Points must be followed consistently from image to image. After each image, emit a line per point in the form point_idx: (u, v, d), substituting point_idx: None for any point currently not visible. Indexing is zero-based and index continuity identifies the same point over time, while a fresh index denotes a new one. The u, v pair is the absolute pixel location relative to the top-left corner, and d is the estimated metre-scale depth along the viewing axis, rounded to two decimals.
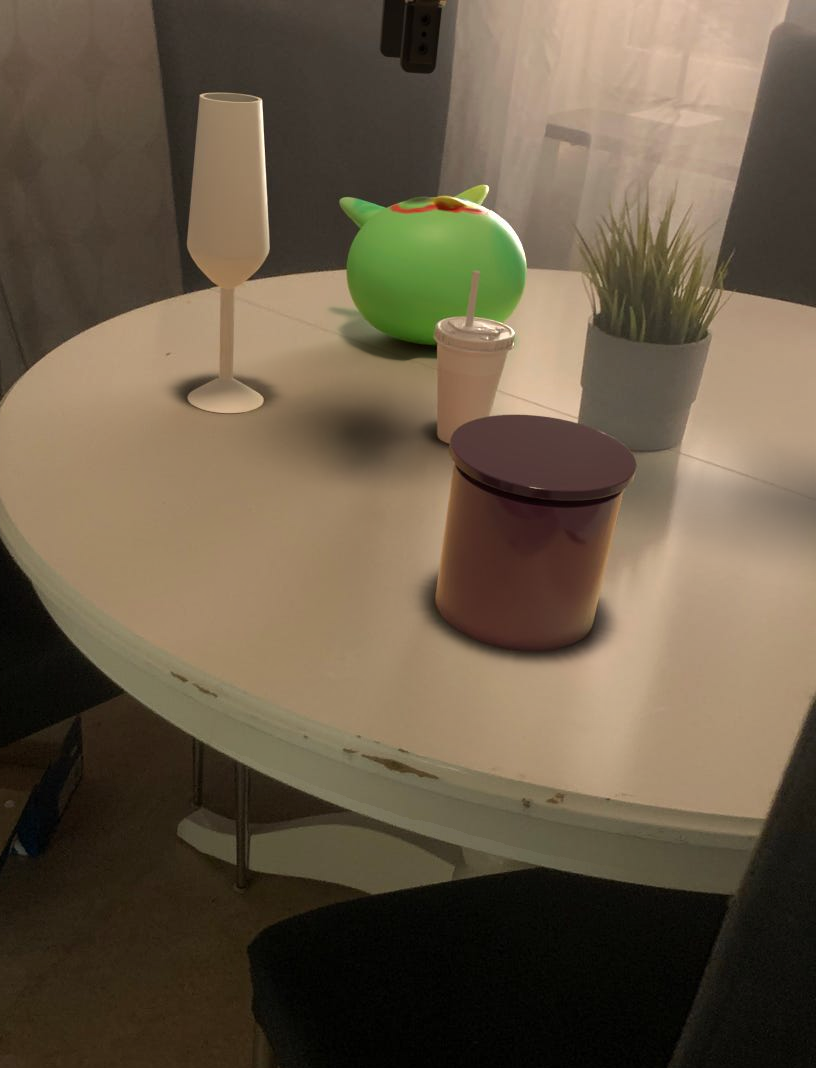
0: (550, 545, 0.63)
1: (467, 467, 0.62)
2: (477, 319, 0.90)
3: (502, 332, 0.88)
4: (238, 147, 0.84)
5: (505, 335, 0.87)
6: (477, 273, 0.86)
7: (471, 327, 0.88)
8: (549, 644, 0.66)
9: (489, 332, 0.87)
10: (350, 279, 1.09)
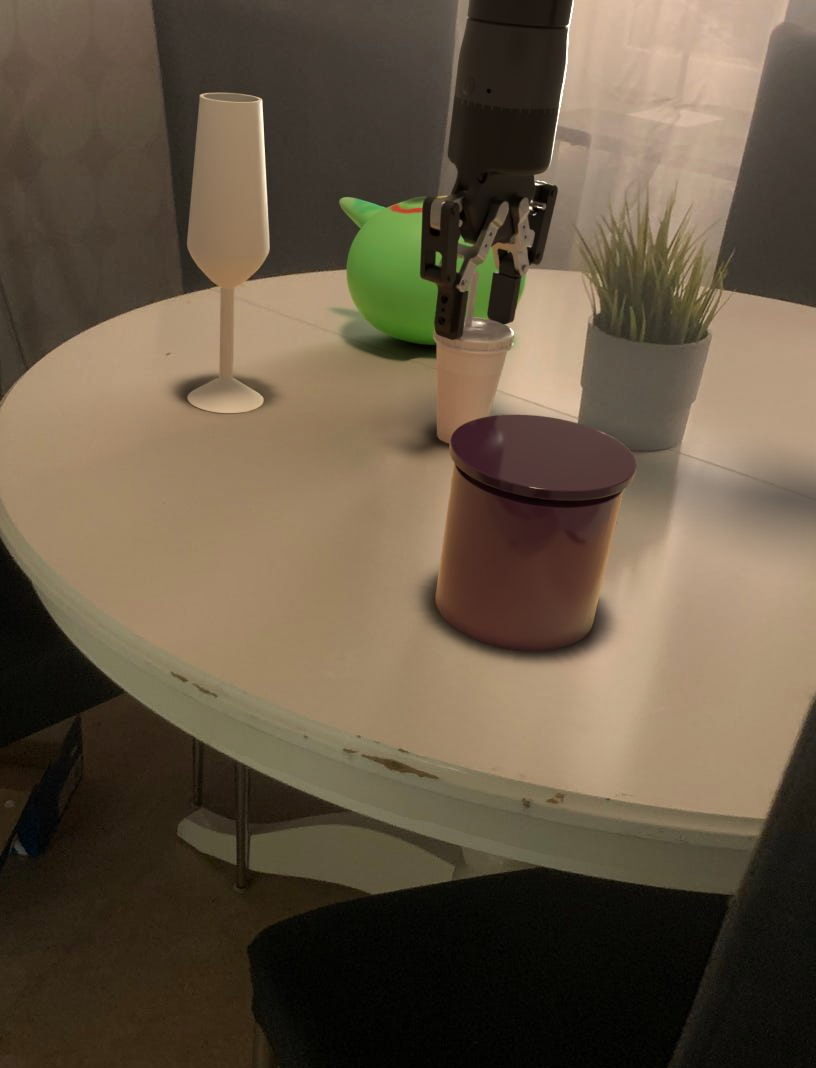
0: (550, 545, 0.63)
1: (467, 467, 0.62)
2: (476, 319, 0.90)
3: (502, 332, 0.88)
4: (238, 147, 0.84)
5: (504, 335, 0.87)
6: (476, 273, 0.86)
7: (470, 327, 0.88)
8: (549, 644, 0.66)
9: (488, 332, 0.87)
10: (350, 279, 1.09)
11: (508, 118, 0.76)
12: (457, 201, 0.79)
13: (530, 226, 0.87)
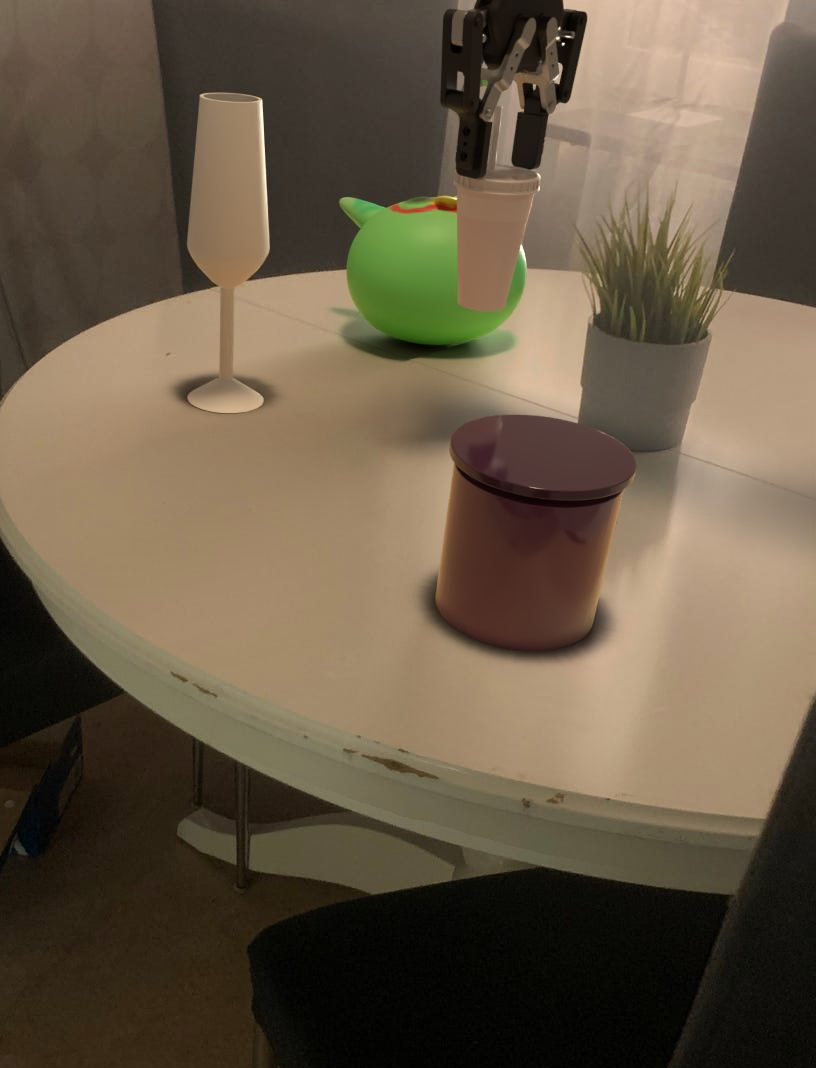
0: (550, 545, 0.63)
1: (467, 467, 0.62)
2: (499, 166, 0.84)
3: (527, 175, 0.82)
4: (238, 147, 0.84)
5: (530, 177, 0.81)
6: (500, 108, 0.79)
7: (494, 170, 0.81)
8: (549, 644, 0.66)
9: (513, 174, 0.81)
10: (350, 279, 1.09)
11: None
12: None
13: (557, 59, 0.81)
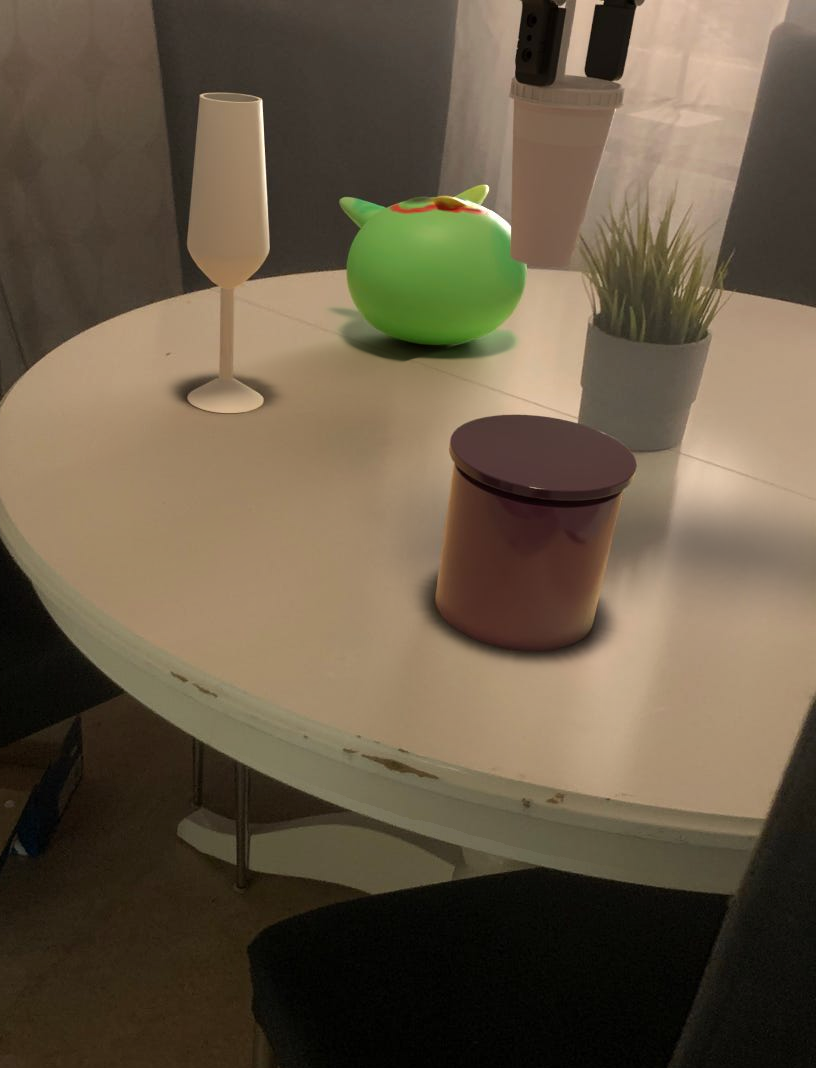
0: (550, 545, 0.63)
1: (467, 467, 0.62)
2: None
3: (607, 86, 0.62)
4: (238, 147, 0.84)
5: (612, 88, 0.62)
6: None
7: (563, 78, 0.62)
8: (549, 644, 0.66)
9: (589, 83, 0.61)
10: (350, 279, 1.09)
11: None
12: None
13: None
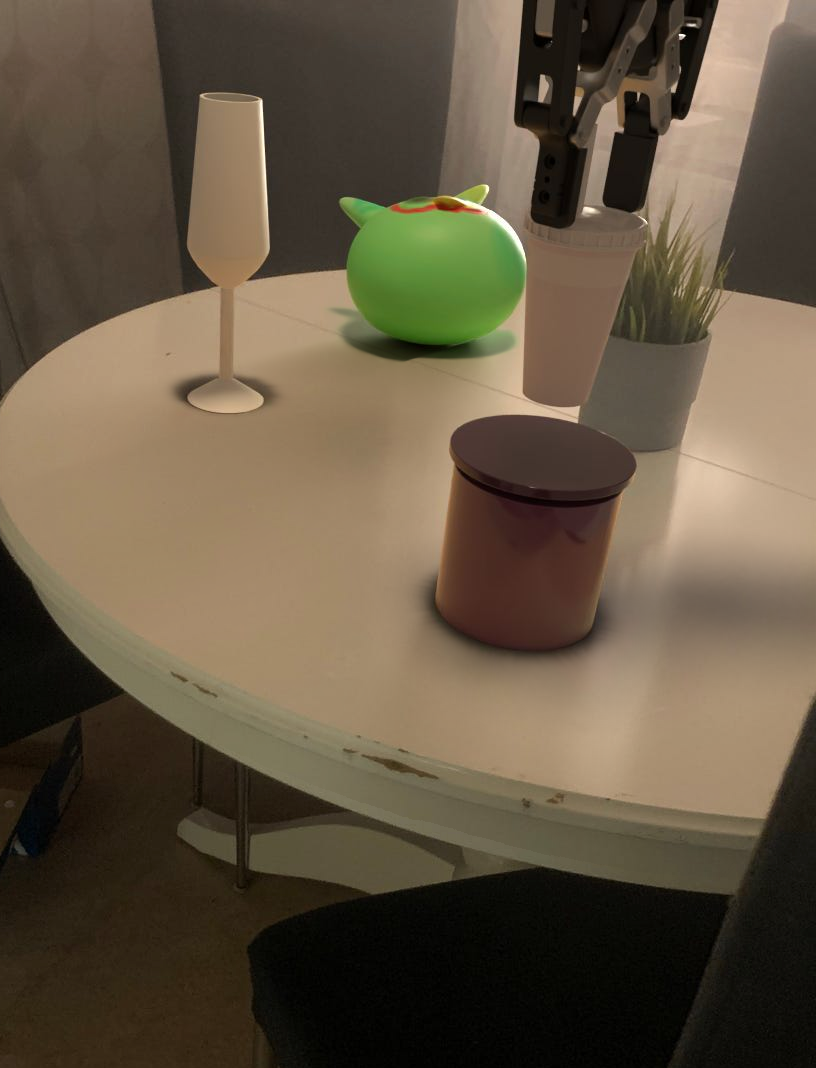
0: (550, 545, 0.63)
1: (467, 467, 0.62)
2: (586, 206, 0.60)
3: (629, 222, 0.58)
4: (238, 147, 0.84)
5: (634, 225, 0.57)
6: (594, 126, 0.55)
7: (581, 214, 0.57)
8: (549, 644, 0.66)
9: (610, 220, 0.57)
10: (350, 279, 1.09)
11: None
12: None
13: None
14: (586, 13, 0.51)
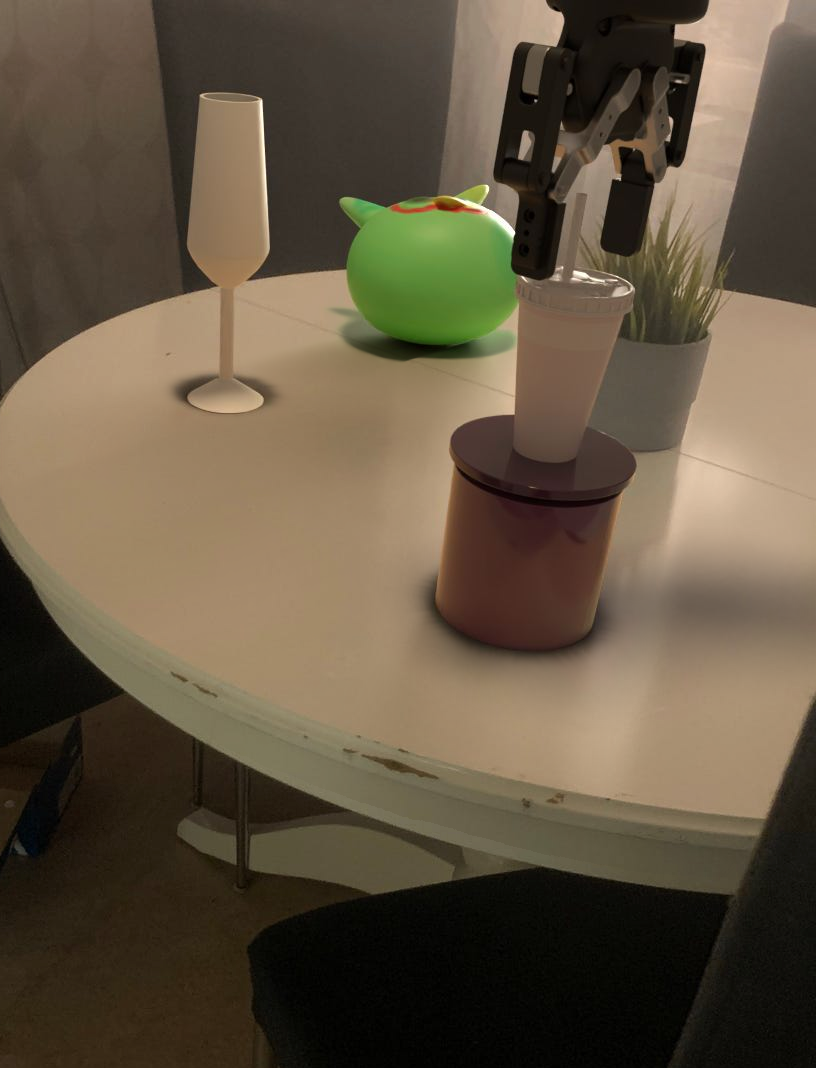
0: (550, 545, 0.63)
1: (467, 467, 0.62)
2: (575, 269, 0.62)
3: (617, 287, 0.59)
4: (238, 147, 0.84)
5: (622, 290, 0.59)
6: (583, 196, 0.57)
7: (571, 279, 0.59)
8: (549, 644, 0.66)
9: (599, 286, 0.59)
10: (350, 279, 1.09)
11: None
12: None
13: None
14: (572, 84, 0.52)
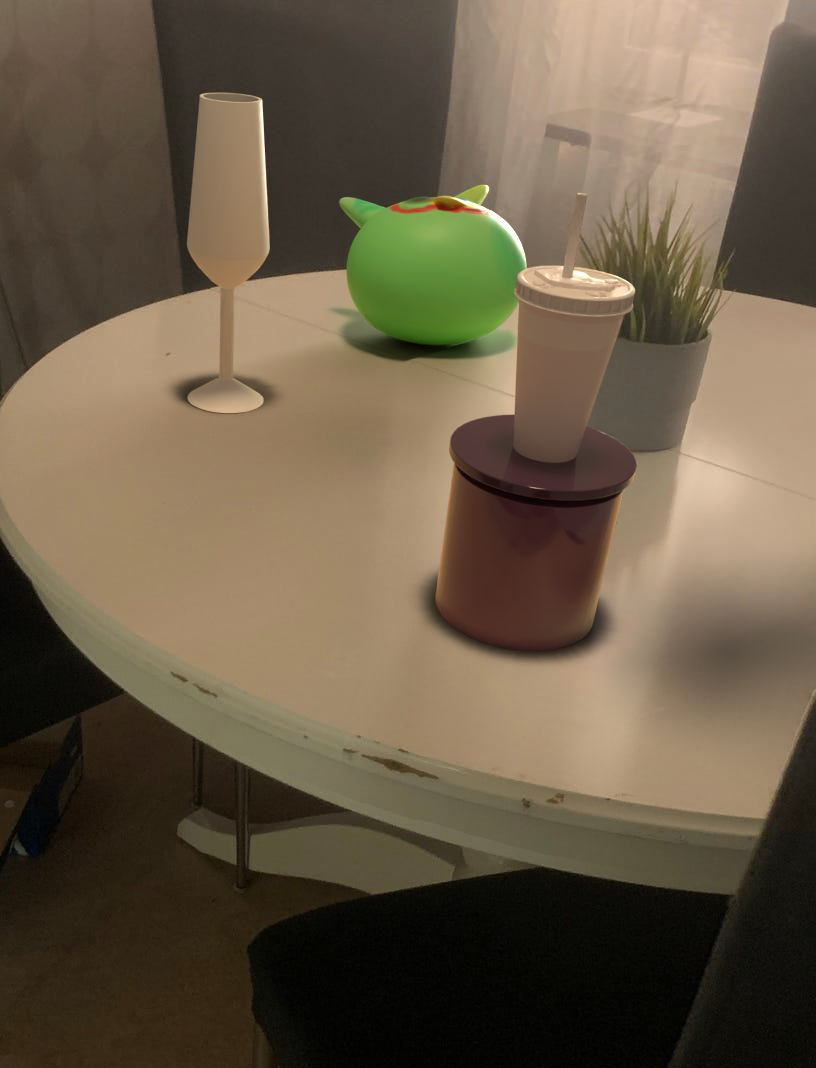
0: (550, 545, 0.63)
1: (467, 467, 0.62)
2: (575, 269, 0.62)
3: (617, 287, 0.59)
4: (238, 147, 0.84)
5: (622, 290, 0.59)
6: (583, 196, 0.57)
7: (571, 279, 0.59)
8: (549, 644, 0.66)
9: (599, 286, 0.59)
10: (350, 279, 1.09)
11: None
12: None
13: None
14: None
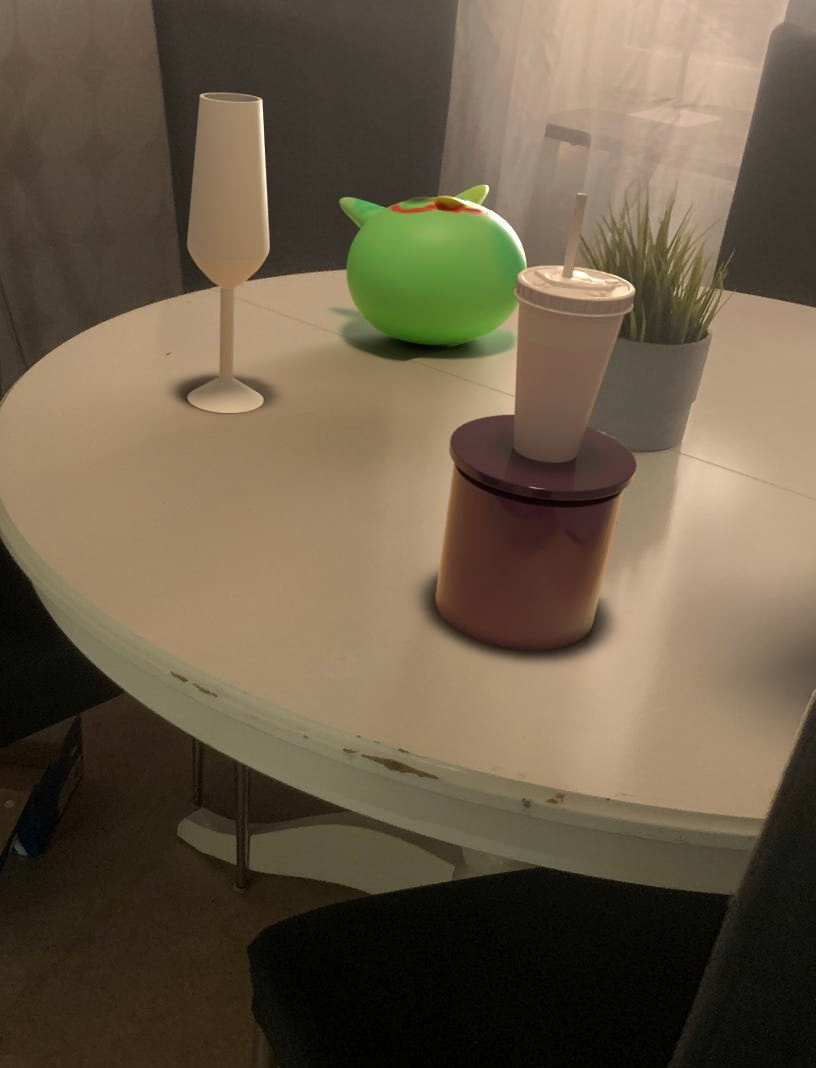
0: (550, 545, 0.63)
1: (467, 467, 0.62)
2: (575, 269, 0.62)
3: (617, 287, 0.59)
4: (238, 147, 0.84)
5: (622, 290, 0.59)
6: (583, 196, 0.57)
7: (571, 279, 0.59)
8: (549, 644, 0.66)
9: (599, 286, 0.59)
10: (350, 279, 1.09)
11: None
12: None
13: None
14: None
